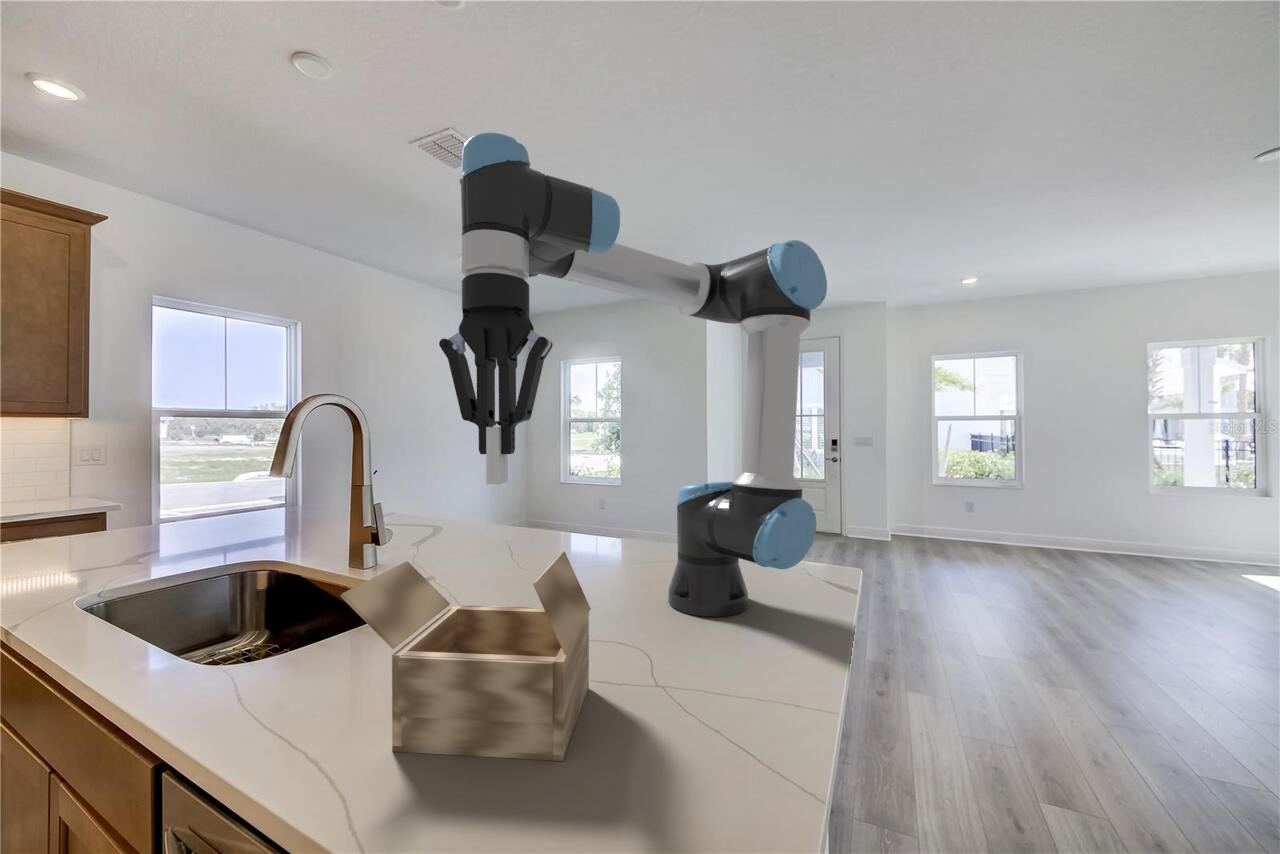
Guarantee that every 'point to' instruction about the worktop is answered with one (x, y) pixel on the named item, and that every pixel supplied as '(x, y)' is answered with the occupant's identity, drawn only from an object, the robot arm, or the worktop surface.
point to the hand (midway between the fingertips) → (497, 482)
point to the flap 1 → (396, 603)
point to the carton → (489, 685)
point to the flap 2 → (562, 601)
